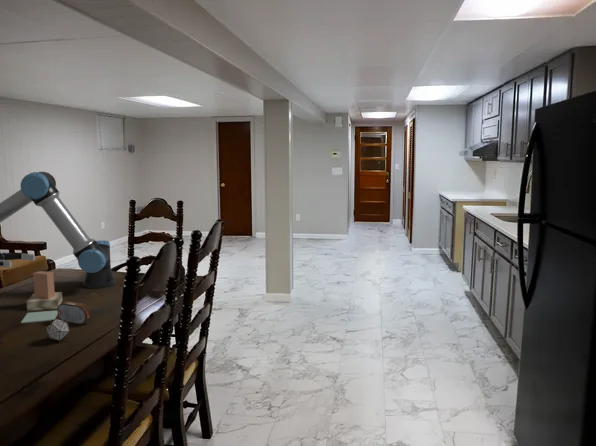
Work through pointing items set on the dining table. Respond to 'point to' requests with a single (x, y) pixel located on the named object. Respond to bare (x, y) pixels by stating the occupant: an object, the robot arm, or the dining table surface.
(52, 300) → the beige stone slab
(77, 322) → the portable speaker
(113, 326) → the dining table surface
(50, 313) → the mat
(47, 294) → the tan upright block
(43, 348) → the dining table surface
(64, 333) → the game die
